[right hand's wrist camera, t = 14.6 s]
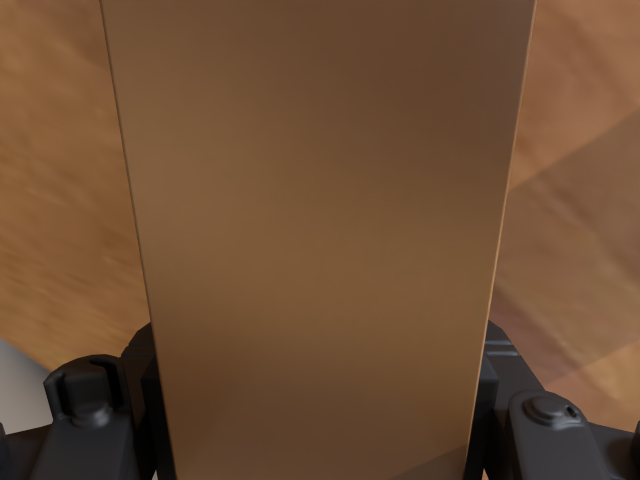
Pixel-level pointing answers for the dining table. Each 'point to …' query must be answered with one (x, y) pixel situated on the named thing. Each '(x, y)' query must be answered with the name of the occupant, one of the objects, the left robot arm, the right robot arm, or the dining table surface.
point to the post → (318, 223)
